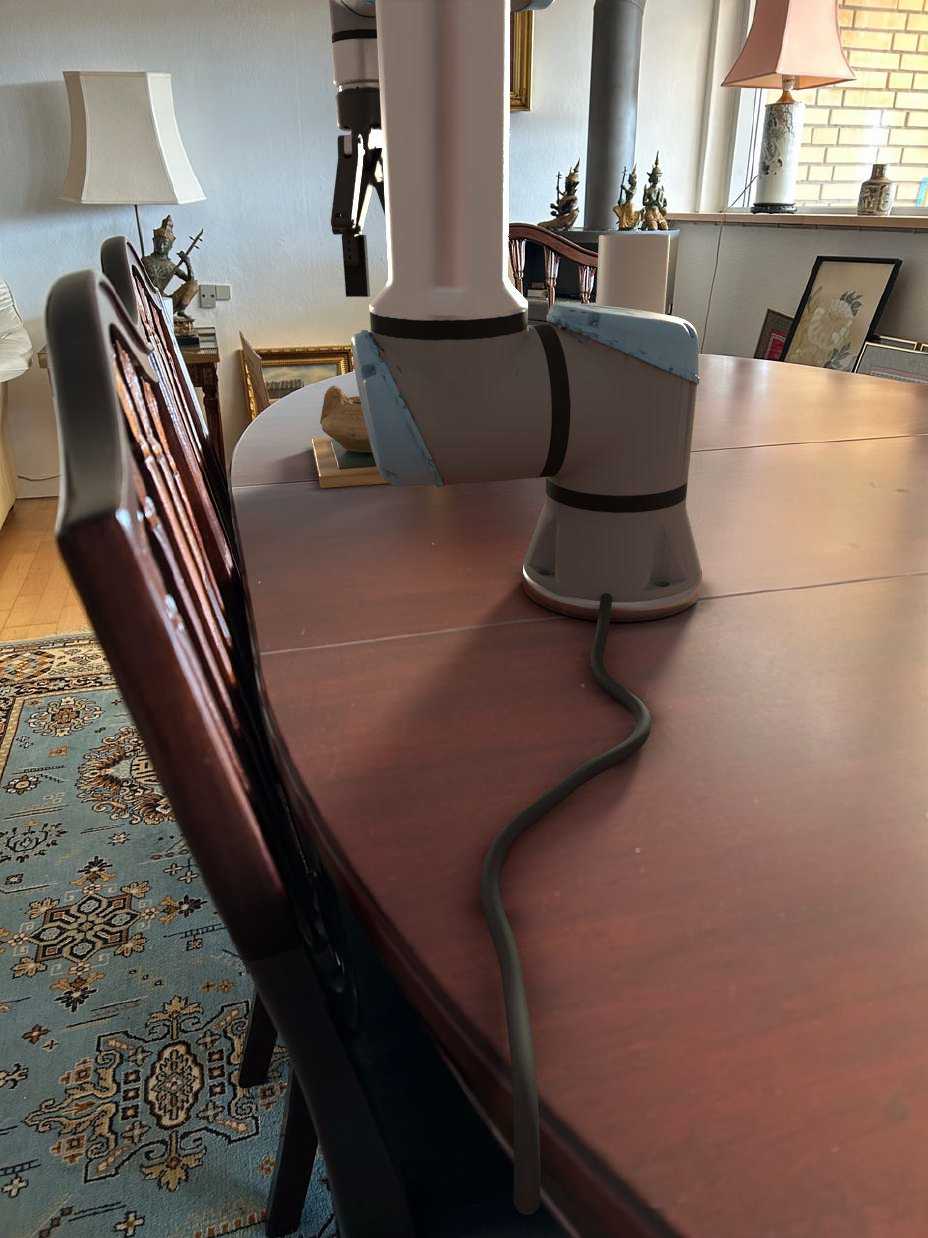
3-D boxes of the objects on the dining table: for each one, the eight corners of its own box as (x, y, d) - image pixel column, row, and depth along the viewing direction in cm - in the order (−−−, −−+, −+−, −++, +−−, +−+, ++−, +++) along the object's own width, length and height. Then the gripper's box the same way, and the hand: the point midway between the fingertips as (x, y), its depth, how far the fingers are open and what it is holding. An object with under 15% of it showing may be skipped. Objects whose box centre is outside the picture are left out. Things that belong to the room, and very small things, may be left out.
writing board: (451, 478, 110) (451, 465, 109) (320, 488, 107) (319, 474, 106) (425, 440, 128) (424, 429, 127) (312, 448, 125) (311, 436, 124)
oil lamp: (430, 460, 111) (428, 395, 108) (312, 460, 113) (306, 395, 109) (439, 438, 121) (437, 379, 118) (330, 439, 122) (325, 379, 119)
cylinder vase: (582, 375, 173) (587, 235, 163) (640, 370, 177) (649, 233, 166) (611, 386, 162) (618, 237, 152) (672, 381, 166) (683, 234, 155)
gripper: (355, 72, 88) (369, 301, 96) (436, 99, 109) (441, 283, 118) (286, 77, 90) (306, 300, 99) (379, 102, 111) (388, 283, 120)
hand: (380, 291), depth 108 cm, fingers open, 13 cm apart
